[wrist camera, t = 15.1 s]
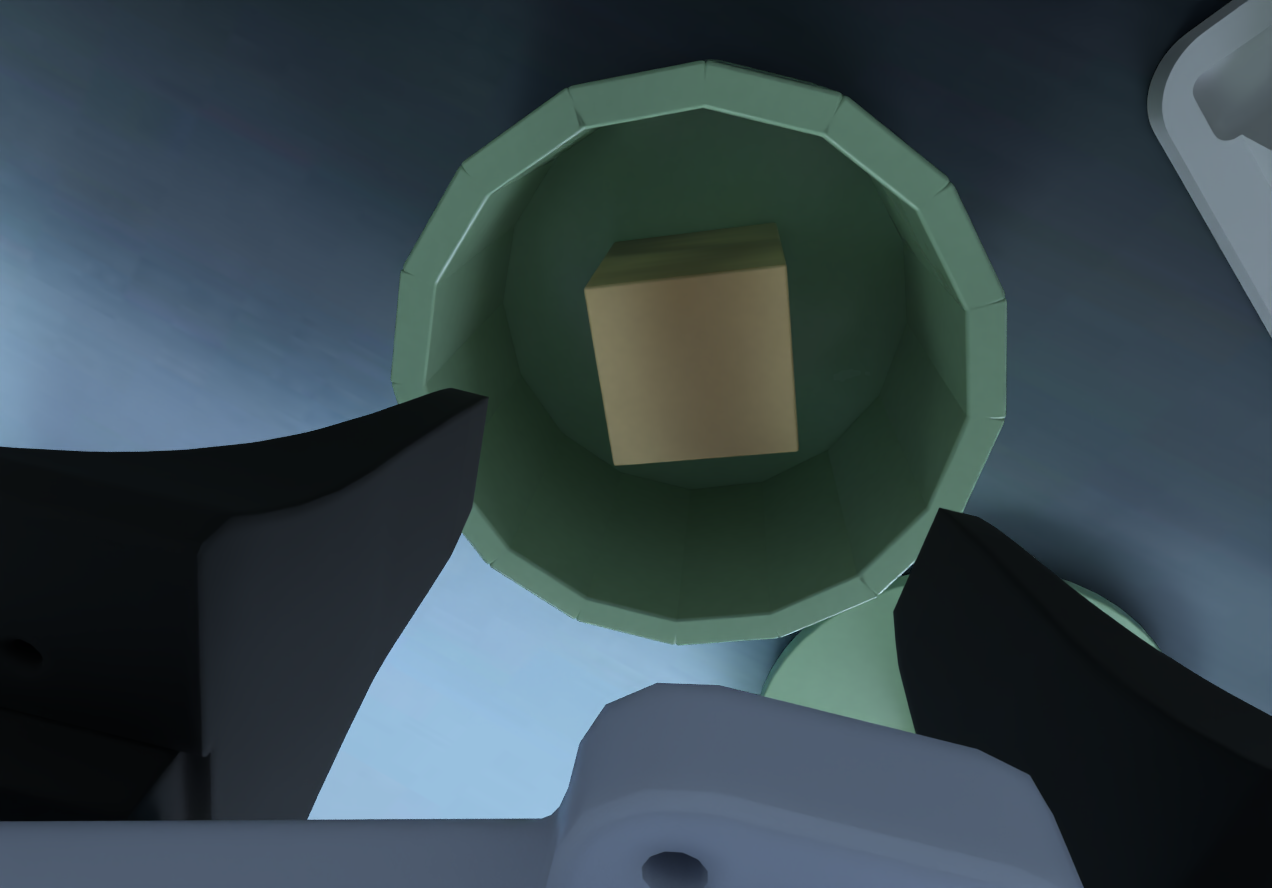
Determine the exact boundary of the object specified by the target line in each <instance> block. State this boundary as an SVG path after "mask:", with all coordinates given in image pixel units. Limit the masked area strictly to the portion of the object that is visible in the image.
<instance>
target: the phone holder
mask: <svg viewBox="0 0 1272 888" xmlns="http://www.w3.org/2000/svg"><path fill="white" fill-rule="evenodd" d="M1147 110H1148V117H1149V121H1150V124H1151V127H1152V129H1153V131H1154V133H1155V135H1156V136H1157V138H1158V140H1159V142H1160V143H1161V145H1162V147H1163V149H1164V150H1165V152H1166V154H1167V156H1168V157H1169V159H1170V161H1171V163H1172V164H1173V166H1174V168H1175V170H1176V171H1177V173H1178V175H1179V177H1180V178H1181V180H1182V182H1183V184H1184V185H1185V187H1186V189H1187V191H1188V192H1189V194H1190V196H1191V198H1192V199H1193V201H1194V203H1195V205H1196V206H1197V208H1198V210H1199V212H1200V213H1201V215H1202V217H1203V219H1204V220H1205V222H1206V224H1207V226H1208V227H1209V229H1210V231H1211V233H1212V234H1213V236H1214V238H1215V240H1216V241H1217V243H1218V245H1219V247H1220V248H1221V250H1222V252H1223V254H1224V255H1225V257H1226V259H1227V261H1228V262H1229V264H1230V266H1231V268H1232V269H1233V271H1234V273H1235V275H1236V276H1237V278H1238V280H1239V282H1240V283H1241V285H1242V287H1243V289H1244V290H1245V292H1246V294H1247V296H1248V297H1249V299H1250V301H1251V303H1252V304H1253V306H1254V308H1255V310H1256V311H1257V313H1258V315H1259V317H1260V318H1261V320H1262V322H1263V324H1264V325H1265V327H1266V329H1267V331H1268V332H1269V334H1270V336H1271V338H1272V0H1232V1H1231V2H1229V3H1228V4H1227V5H1225V6H1224V7H1222V8H1221V9H1220V10H1218V11H1217V12H1215V13H1214V14H1213V15H1211V16H1210V17H1209V18H1207V19H1206V20H1204V21H1203V22H1202V23H1200V24H1199V25H1197V26H1196V27H1195V28H1193V29H1192V30H1191V31H1189V32H1188V33H1187V34H1185V35H1184V36H1183V37H1182V38H1180V39H1179V40H1178V41H1177V42H1176V43H1175V44H1174V45H1173V46H1172V47H1171V48H1170V50H1169V51H1168V52H1167V53H1166V54H1165V56H1164V57H1163V59H1162V60H1161V62H1160V63H1159V65H1158V67H1157V69H1156V71H1155V73H1154V75H1153V78H1152V80H1151V84H1150V87H1149V92H1148V99H1147Z"/></svg>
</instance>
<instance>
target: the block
mask: <svg viewBox="0 0 1272 888" xmlns="http://www.w3.org/2000/svg"><path fill="white" fill-rule="evenodd" d="M584 294H585V300H586V306H587V312H588V317H589V323H590V329H591V335H592V341H593V347H594V353H595V359H596V365H597V370H598V376H599V382H600V388H601V394H602V400H603V406H604V412H605V417H606V423H607V429H608V435H609V441H610V447H611V453H612V459H613V463H614V465H615V466H620V465H633V464H645V463H658V462H671V461H683V460H696V459H708V458H721V457H734V456H746V455H759V454H771V453H784V452H796V451H798V450H799V440H798V425H797V410H796V395H795V380H794V365H793V350H792V335H791V320H790V305H789V289H788V274H787V265H786V261H785V257H784V253H783V248H782V244H781V240H780V236H779V232H778V228H777V224H776V223H766V224H758V225H750V226H742V227H734V228H726V229H717V230H709V231H701V232H693V233H685V234H677V235H669V236H661V237H653V238H644V239H636V240H628V241H620V242H615V243H613V245H612V247H611V248H610V250H609V251H608V253H607V254H606V256H605V257H604V259H603V260H602V262H601V263H600V265H599V266H598V268H597V269H596V271H595V272H594V274H593V275H592V277H591V278H590V280H589V281H588V283H587V285H586V286H585V288H584Z"/></svg>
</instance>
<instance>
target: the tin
mask: <svg viewBox="0 0 1272 888" xmlns="http://www.w3.org/2000/svg"><path fill="white" fill-rule="evenodd" d="M766 223H776V224H777V228H778V232H779V236H780V240H781V244H782V248H783V253H784V257H785V261H786V265H787V274H788V289H789V305H790V320H791V335H792V350H793V365H794V380H795V395H796V410H797V425H798V440H799V450H798V451H796V452H784V453H771V454H759V455H746V456H734V457H721V458H708V459H696V460H683V461H671V462H658V463H645V464H633V465H620V466H615V465H614V463H613V459H612V453H611V447H610V441H609V435H608V429H607V423H606V417H605V412H604V406H603V400H602V394H601V388H600V382H599V376H598V370H597V365H596V359H595V353H594V347H593V341H592V335H591V329H590V323H589V317H588V312H587V306H586V300H585V294H584V288H585V286H586V285H587V283H588V281H589V280H590V278H591V277H592V275H593V274H594V272H595V271H596V269H597V268H598V266H599V265H600V263H601V262H602V260H603V259H604V257H605V256H606V254H607V253H608V251H609V250H610V248H611V247H612V245H613V243H615V242H620V241H628V240H636V239H644V238H653V237H661V236H669V235H677V234H685V233H693V232H701V231H709V230H717V229H726V228H734V227H742V226H750V225H758V224H766ZM1004 297H1005V292H1004V290H1003V288H1002V285H1001V283H1000V281H999V279H998V277H997V275H996V273H995V271H994V269H993V266H992V264H991V262H990V260H989V258H988V256H987V254H986V252H985V250H984V247H983V245H982V243H981V241H980V239H979V237H978V235H977V233H976V230H975V228H974V226H973V224H972V222H971V220H970V218H969V216H968V214H967V211H966V209H965V207H964V205H963V203H962V201H961V199H960V197H959V195H958V192H957V190H956V188H955V186H954V185H953V184H952V183H951V182H949V179H948V177H947V176H946V175H945V174H944V173H942V172H941V171H940V170H939V169H937V168H936V167H935V166H934V165H932V164H931V163H930V162H929V161H927V160H926V159H925V158H924V157H922V156H921V155H920V154H919V153H917V152H916V151H915V150H914V149H913V148H911V147H910V146H909V145H908V144H906V143H905V142H904V141H903V140H901V139H900V138H899V137H898V136H896V135H895V134H894V133H893V132H891V131H890V130H889V129H888V128H887V127H885V126H884V125H883V124H882V123H880V122H879V121H878V120H877V119H875V118H874V117H873V116H872V115H870V114H869V113H868V112H867V111H865V110H864V109H863V108H862V107H860V106H859V105H858V104H857V103H856V102H854V101H853V100H852V99H851V98H849V97H848V96H845V95H842V94H841V93H840V92H837V91H835V90H832V89H829V88H826V87H823V86H820V85H817V84H814V83H811V82H807V81H803V80H799V79H795V78H791V77H787V76H783V75H779V74H775V73H771V72H766V71H763V70H758V69H754V68H750V67H746V66H742V65H738V64H734V63H730V62H725V61H721V60H712V59H709V60H700V61H695V62H689V63H684V64H679V65H674V66H669V67H664V68H659V69H653V70H648V71H643V72H638V73H633V74H628V75H623V76H618V77H612V78H607V79H602V80H597V81H592V82H587V83H582V84H576V85H572V86H570V87H569V88H564V89H563V90H562V91H560V92H559V93H557V94H556V95H555V96H553V97H552V98H550V99H549V100H548V101H546V102H545V103H543V104H542V105H541V106H539V107H538V108H537V109H535V110H534V111H532V112H531V113H530V114H528V115H527V116H525V117H524V118H523V119H521V120H520V121H518V122H517V123H516V124H514V125H513V126H512V127H510V128H509V129H507V130H506V131H505V132H503V133H502V134H500V135H499V136H498V137H496V138H495V139H494V140H492V141H491V142H489V143H488V144H487V145H485V146H484V147H482V148H481V149H480V150H478V151H477V152H475V153H474V154H473V155H471V156H470V157H469V158H467V159H466V160H464V161H463V162H462V165H461V166H460V167H458V169H457V171H456V173H455V175H454V176H453V178H452V180H451V182H450V183H449V185H448V187H447V189H446V190H445V192H444V194H443V196H442V198H441V199H440V201H439V203H438V205H437V206H436V208H435V210H434V212H433V213H432V215H431V217H430V219H429V221H428V222H427V224H426V226H425V228H424V229H423V231H422V233H421V235H420V237H419V238H418V240H417V242H416V244H415V245H414V247H413V249H412V251H411V252H410V254H409V256H408V258H407V260H406V261H405V263H404V265H403V270H401V272H400V282H399V293H398V304H397V315H396V326H395V336H394V347H393V358H392V369H391V382H392V387H393V390H394V393H395V396H396V399H397V403H398V404H401V403H404V402H407V401H409V400H412V399H415V398H418V397H421V396H423V395H426V394H429V393H432V392H435V391H439V390H442V389H446V388H455V389H459V390H463V391H467V392H471V393H475V394H479V395H483V396H487V397H489V399H488V406H487V413H486V420H485V426H484V433H483V440H482V446H481V453H480V460H479V467H478V473H477V480H476V487H475V493H474V500H473V507H472V510H471V512H470V514H469V517H468V519H467V521H466V524H465V526H464V528H463V531H462V533H463V535H464V536H465V537H466V538H467V540H468V541H469V542H470V544H471V545H472V546H473V547H474V549H475V550H476V551H477V552H478V554H479V555H480V556H481V557H482V559H483V560H484V561H485V562H486V563H487V564H490V566H491V568H493V569H495V570H496V571H498V572H499V573H501V574H503V575H504V576H506V577H507V578H509V579H510V580H512V581H514V582H515V583H517V584H518V585H520V586H522V587H523V588H525V589H526V590H528V591H530V592H531V593H533V594H534V595H536V596H537V597H539V598H541V599H542V600H544V601H545V602H547V603H549V604H550V605H552V606H553V607H555V608H556V609H558V610H560V611H561V612H563V613H564V614H566V615H568V616H569V617H571V618H573V619H575V618H576V619H577V621H579V622H583V623H587V624H591V625H596V626H600V627H604V628H608V629H612V630H616V631H620V632H624V633H628V634H632V635H636V636H640V637H644V638H648V639H652V640H656V641H660V642H664V643H668V644H672V645H673V644H675V643H676V645H691V644H705V643H719V642H733V641H747V640H761V639H775V638H779V636H780V637H784V636H787V635H789V634H791V633H794V632H796V631H798V630H801V629H803V628H806V627H808V626H810V625H813V624H815V623H818V622H820V621H822V620H825V619H827V618H829V617H832V616H834V615H837V614H839V613H841V612H844V611H846V610H849V609H851V608H853V607H856V606H858V605H860V604H863V603H865V602H868V601H870V600H872V599H875V598H876V597H877V595H880V594H881V593H882V592H883V591H884V590H886V589H887V588H888V587H889V586H890V585H891V584H892V583H893V582H894V581H895V580H896V579H897V578H898V577H900V576H901V575H902V574H903V573H904V572H905V571H906V570H907V569H908V568H909V567H910V566H911V565H912V564H913V563H915V561H916V559H917V557H918V554H919V552H920V550H921V547H922V545H923V543H924V541H925V538H926V536H927V534H928V532H929V529H930V527H931V525H932V523H933V520H934V518H935V516H936V514H937V511H938V509H939V507H940V508H944V509H948V510H952V511H956V512H960V513H962V512H963V510H964V508H965V506H966V504H967V502H968V500H969V497H970V495H971V493H972V491H973V489H974V487H975V484H976V482H977V480H978V478H979V476H980V474H981V471H982V469H983V467H984V465H985V463H986V461H987V458H988V456H989V454H990V452H991V450H992V448H993V445H994V443H995V441H996V439H997V437H998V435H999V432H1000V430H1001V428H1002V426H1003V424H1004V418H1005V416H1006V388H1007V300H1006V299H1005V298H1004Z"/></svg>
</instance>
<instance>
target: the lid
mask: <svg viewBox="0 0 1272 888" xmlns="http://www.w3.org/2000/svg"><path fill="white" fill-rule="evenodd" d="M909 575H910V574H909ZM909 575H905V576H901V577H898V578H897V579H896V580H895V581H894V582H893V583H892V584H891V585H890V586H889V587H888V588H887V589H886V590H884V591H883V592H882V593H881V594H880V595H877V597H876V598H875V599H872V600H870V601H868V602H865V603H863V604H860V605H858V606H856V607H853V608H851V609H849V610H846V611H844V612H841V613H839V614H837V615H834V616H832V617H829V618H827V619H825V620H822V621H820V622H818V623H815V624H813V625H810V626H808V627H806V628H804V629H803V630H801V631H800V633H799V634H798V635H797V636H796V637H795V638H794V639H793V640H792V641H791V642H790V644H789V645H788V646H787V647H786V648H785V649H784V651H783V652H782V654H781V655H780V657H779V658H778V660H777V661H776V663H775V664H774V665H773V667H772V669H771V671H770V673H769V675H768V677H767V679H766V681H765V684H764V686H763V688H762V692H761V695H760V696H764V697H768V698H772V699H777V700H781V701H785V702H789V703H793V704H797V705H801V706H805V707H809V708H813V709H817V710H821V711H825V712H829V713H833V714H837V715H841V716H845V717H849V718H853V719H857V720H862V721H866V722H870V723H874V724H878V725H882V726H886V727H890V728H894V729H898V730H902V731H906V732H910V733H914V734H916V733H915V729H914V726H913V722H912V718H911V714H910V711H909V707H908V703H907V699H906V695H905V691H904V687H903V683H902V680H901V675H900V671H899V667H898V660H897V651H896V643H895V630H894V617H893V611H894V608H895V606H896V604H897V602H898V599H899V597H900V595H901V593H902V590H903V588H904V586H905V584H906V581H907V579H908V577H909ZM1062 580H1063V579H1062ZM1063 581H1064V582H1066V583H1067V584H1068V585H1069V586H1071V587H1072V588H1073V589H1074V590H1076V591H1077V592H1078V593H1080V594H1081V595H1082V596H1084V597H1085V598H1086V599H1087V600H1089V601H1090V602H1091V603H1093V604H1094V605H1095V606H1097V607H1098V608H1099V609H1101V610H1102V611H1103V612H1105V613H1106V614H1107V615H1109V616H1110V617H1112V618H1113V619H1114V620H1116V621H1117V622H1118V623H1120V624H1121V625H1123V626H1124V627H1125V628H1127V629H1128V630H1129V631H1131V632H1132V633H1134V634H1135V635H1137V636H1138V637H1139V638H1141V639H1142V640H1144V641H1145V642H1147V643H1148V644H1150V645H1151V646H1153V647H1154V648H1156V649H1157V650H1159V651H1160V652H1161V650H1160V649H1159V647H1158V646H1157V645H1156V643H1155V642H1154V641H1153V640H1152V638H1151V637H1150V636H1149V635H1148V634H1147V633H1146V631H1145V630H1144V629H1143V628H1142V627H1141V626H1140V624H1138V623H1137V622H1136V621H1135V620H1134V619H1133V618H1131V617H1130V616H1129V615H1128V614H1127V613H1125V612H1124V611H1123V610H1122V609H1121V608H1119V607H1118V606H1116V605H1115V604H1113V603H1111V602H1110V601H1108V600H1107V599H1105V598H1103V597H1102V596H1100V595H1098V594H1097V593H1094V592H1092V591H1090V590H1088V589H1086V588H1083V587H1081V586H1079V585H1077V584H1074V583H1072V582H1069V581H1066V580H1063Z"/></svg>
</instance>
